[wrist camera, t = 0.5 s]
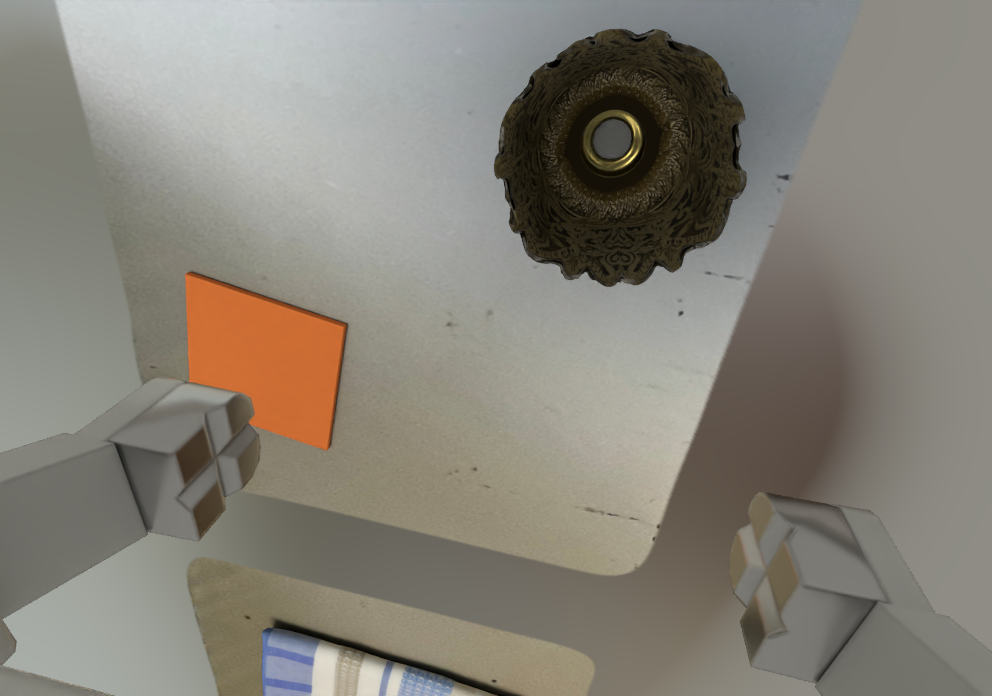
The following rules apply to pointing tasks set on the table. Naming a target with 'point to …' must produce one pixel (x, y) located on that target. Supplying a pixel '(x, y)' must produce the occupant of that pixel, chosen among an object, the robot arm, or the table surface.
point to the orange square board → (266, 357)
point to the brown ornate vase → (622, 157)
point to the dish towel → (343, 671)
